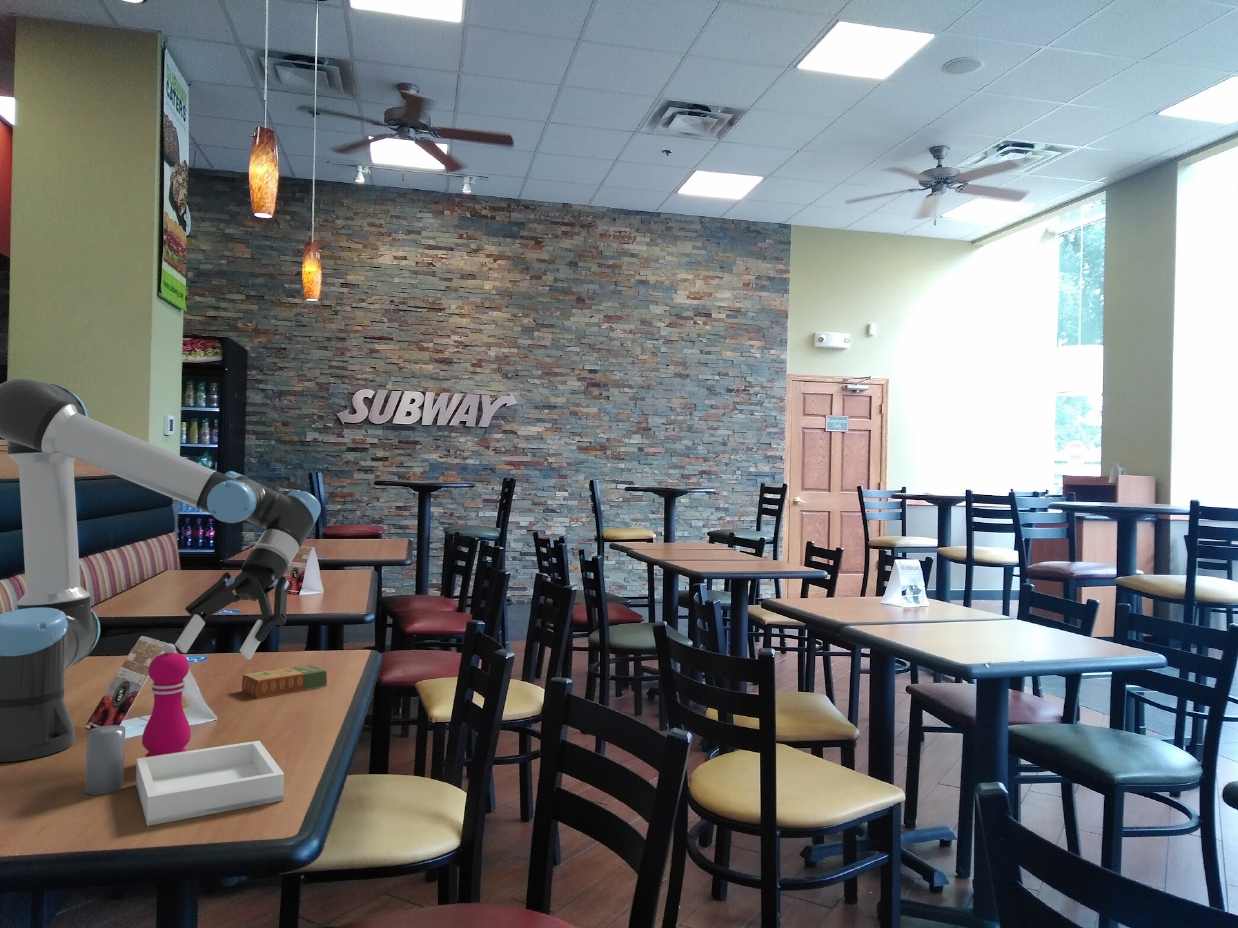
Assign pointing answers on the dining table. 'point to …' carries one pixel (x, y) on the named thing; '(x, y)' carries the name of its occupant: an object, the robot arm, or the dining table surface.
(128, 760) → the dining table surface
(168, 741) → the pepper mill
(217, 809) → the tray
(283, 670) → the carton
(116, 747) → the grey rounded pillar
